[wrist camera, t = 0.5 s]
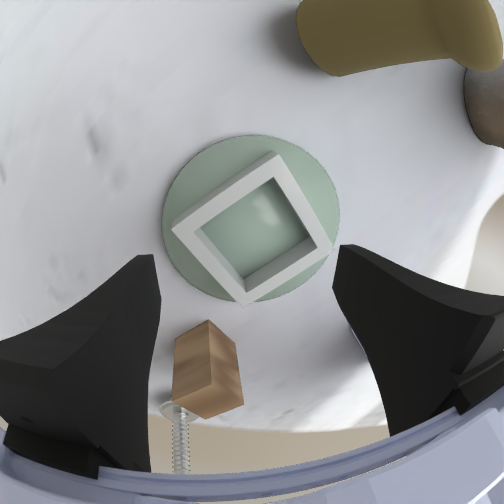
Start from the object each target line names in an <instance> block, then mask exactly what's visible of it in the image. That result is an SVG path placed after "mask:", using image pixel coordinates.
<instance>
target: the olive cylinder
mask: <svg viewBox="0 0 504 504" xmlns="http://www.w3.org/2000/svg"><path fill="white" fill-rule="evenodd" d="M296 25H297V30H298V34H299V37H300V39H301V42H302V44H303V46H304V49H305V50H306V52H307V53H308V55H309V56H310V58H311V59H312V61H313V62H314V63H315V64H316V65H317V66H318V67H319V68H320V69H321V70H322V71H324V72H326V73H328V74H329V75H331V76H338V77H341V76H345V75H349V74H353V73H358V72H362V71H367V70H371V69H376V68H381V67H387V66H392V65H398V64H404V63H411V62H418V61H427V60H436V59H448V58H452V59H453V60H455V61H456V62H458V63H459V64H460V65H462V66H463V67H466V68H469V69H472V70H475V71H482V72H486V71H493V70H495V69H497V68H499V67H500V65H501V63H502V57H503V42H502V37H501V33H500V29H499V25H498V22H497V18H496V15H495V13H494V11H493V9H492V7H491V5H490V3H489V1H488V0H303V1H302V2H300V4H299V6H298V8H297V11H296Z"/></svg>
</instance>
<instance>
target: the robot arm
mask: <svg viewBox="0 0 504 504" xmlns="http://www.w3.org/2000/svg"><path fill="white" fill-rule="evenodd" d="M332 289H333V291H334V294H335V297H336V299H337V302H338V304H339V306H340V308H341V310H342V312H343V314H344V316H345V317H346V319H347V321H348V323H349V324H350V326H351V330H352V332H353V334H354V335H355V337H356V339H357V340H358V342H359V344H360V346H361V347H362V349H363V351H364V353H365V354H366V356H367V358H368V360H369V363H370V365H371V368H372V370H373V373H374V376H375V379H376V382H377V385H378V388H379V391H380V394H381V398H382V401H383V405H384V409H385V413H386V418H387V423H388V428H389V433H390V437H389V438H387V439H384V440H381V441H378V442H376V443H373V444H370V445H367V446H365V447H361V448H358V449H355V450H352V451H349V452H345V453H342V454H338V455H335V456H331V457H327V458H323V459H319V460H315V461H311V462H306V463H301V464H296V465H291V466H285V467H280V468H273V469H266V470H259V471H250V472H240V473H227V474H202V475H186V474H160V473H151V466H150V456H149V444H148V381H149V372H150V366H151V360H152V355H153V350H154V345H155V341H156V336H157V331H158V326H159V321H160V310H161V295H160V290H159V285H158V279H157V274H156V268H155V262H154V256H153V254H149V255H137V256H136V257H134V258H133V259H132V260H130V261H129V262H128V263H127V264H126V265H124V266H123V267H122V268H121V269H120V270H119V271H117V272H116V273H115V274H114V275H113V276H112V277H110V278H109V279H108V280H107V281H106V282H104V283H103V284H102V285H101V286H99V287H98V288H97V289H96V290H94V291H93V292H92V293H91V294H89V295H88V296H87V297H85V298H84V299H83V300H81V301H80V302H78V303H77V304H75V305H74V306H72V307H71V308H69V309H68V310H66V311H64V312H63V313H61V314H59V315H57V316H55V317H54V318H52V319H50V320H48V321H47V322H45V323H43V324H41V325H39V326H37V327H35V328H32V329H30V330H28V331H26V332H23V333H21V334H18V335H16V336H13V337H10V338H8V339H5V340H2V341H0V416H1V417H2V418H3V419H4V420H5V421H6V422H7V423H8V424H9V425H8V428H7V431H5V430H3V429H2V428H0V504H198V503H193V502H215V501H234V500H245V499H255V498H263V497H270V496H277V495H283V494H288V493H293V492H298V491H303V490H308V489H312V488H316V487H320V486H324V485H328V484H331V483H335V482H338V481H342V480H345V479H348V478H351V477H354V476H357V475H360V474H363V473H366V472H368V471H371V470H374V469H376V468H379V467H381V466H384V465H386V464H389V463H391V462H393V461H396V460H398V459H400V458H402V457H404V456H406V457H405V458H403V459H400V460H398V461H396V462H394V463H392V464H389V465H387V466H384V467H382V468H380V469H377V470H374V471H371V472H369V473H366V474H363V475H361V476H358V477H355V478H353V479H350V480H347V481H344V482H342V483H339V484H336V485H333V486H329V487H326V488H323V489H321V490H318V491H316V492H312V493H309V494H306V495H303V496H299V497H294V498H290V499H286V500H281V501H276V502H270V503H265V504H504V350H503V349H504V296H499V295H490V294H483V293H478V292H472V291H469V290H465V289H461V288H457V287H454V286H450V285H447V284H444V283H441V282H438V281H435V280H433V279H430V278H427V277H425V276H422V275H420V274H418V273H415V272H413V271H411V270H409V269H407V268H404V267H402V266H400V265H398V264H396V263H394V262H392V261H390V260H388V259H386V258H384V257H382V256H380V255H378V254H376V253H374V252H372V251H369V250H367V249H365V248H362V247H360V246H357V245H354V244H351V245H340V249H339V254H338V260H337V265H336V270H335V276H334V281H333V286H332Z"/></svg>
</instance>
